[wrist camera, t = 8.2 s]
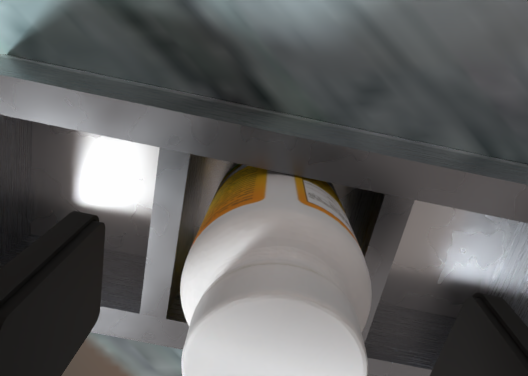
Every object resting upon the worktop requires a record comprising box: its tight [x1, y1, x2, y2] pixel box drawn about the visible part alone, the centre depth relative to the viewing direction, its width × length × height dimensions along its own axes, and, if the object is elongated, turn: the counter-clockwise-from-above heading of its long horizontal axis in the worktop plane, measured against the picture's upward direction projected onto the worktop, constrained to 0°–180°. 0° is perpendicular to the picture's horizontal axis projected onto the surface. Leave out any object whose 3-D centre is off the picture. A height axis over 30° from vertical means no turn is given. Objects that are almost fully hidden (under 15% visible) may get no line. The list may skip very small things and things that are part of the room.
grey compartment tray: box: [0, 54, 528, 376], centre depth 16 cm, size 9×25×5 cm, turn 79°
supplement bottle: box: [180, 164, 372, 376], centre depth 13 cm, size 5×5×10 cm
